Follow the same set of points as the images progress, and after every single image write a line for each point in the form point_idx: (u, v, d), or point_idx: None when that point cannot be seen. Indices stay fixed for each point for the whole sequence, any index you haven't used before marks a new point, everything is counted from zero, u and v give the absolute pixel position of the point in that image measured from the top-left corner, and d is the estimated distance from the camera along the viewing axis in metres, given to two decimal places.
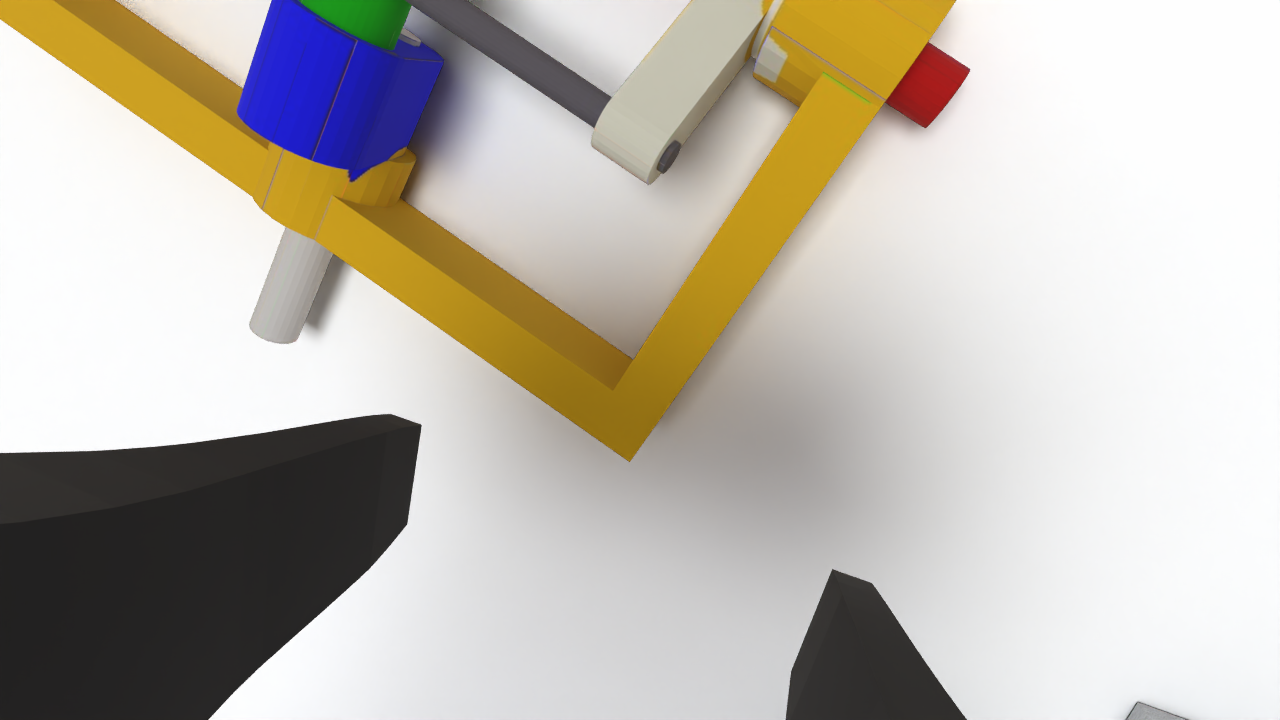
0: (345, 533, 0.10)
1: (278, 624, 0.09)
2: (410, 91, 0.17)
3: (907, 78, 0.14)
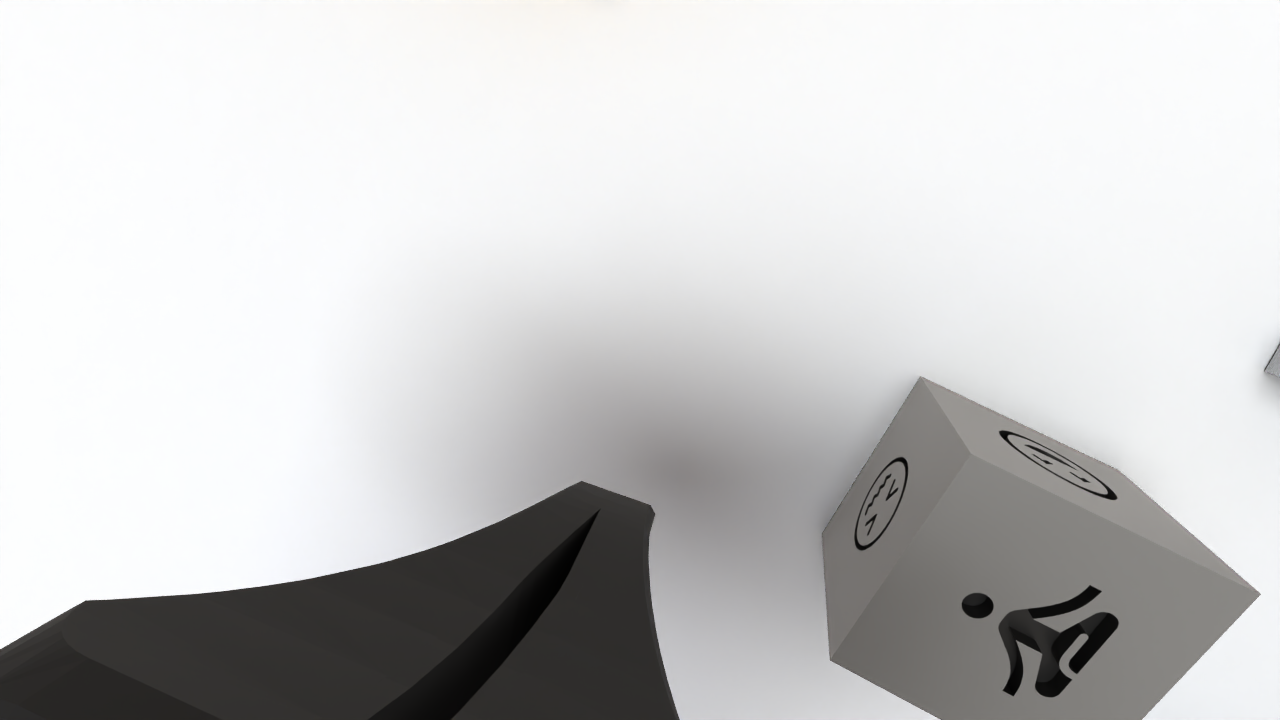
0: None
1: None
2: None
3: None
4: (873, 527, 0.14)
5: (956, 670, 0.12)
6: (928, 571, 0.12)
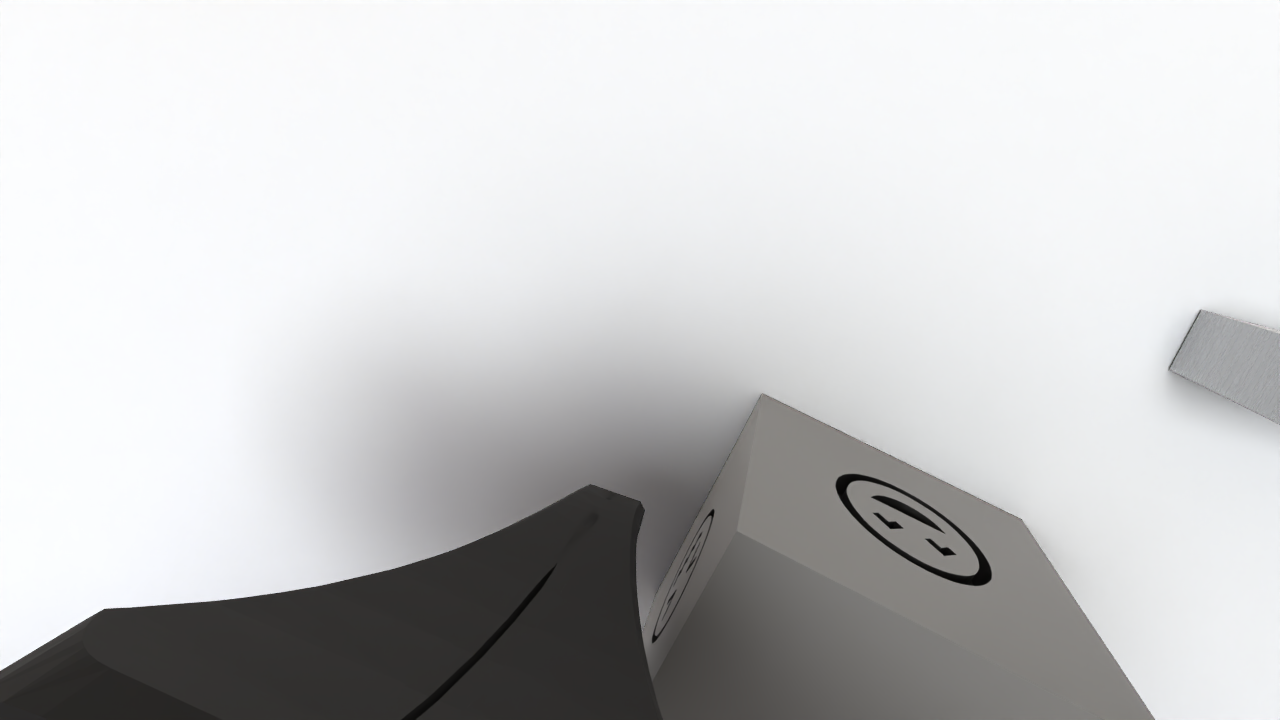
0: None
1: None
2: None
3: None
4: (667, 610, 0.10)
5: None
6: (695, 699, 0.08)
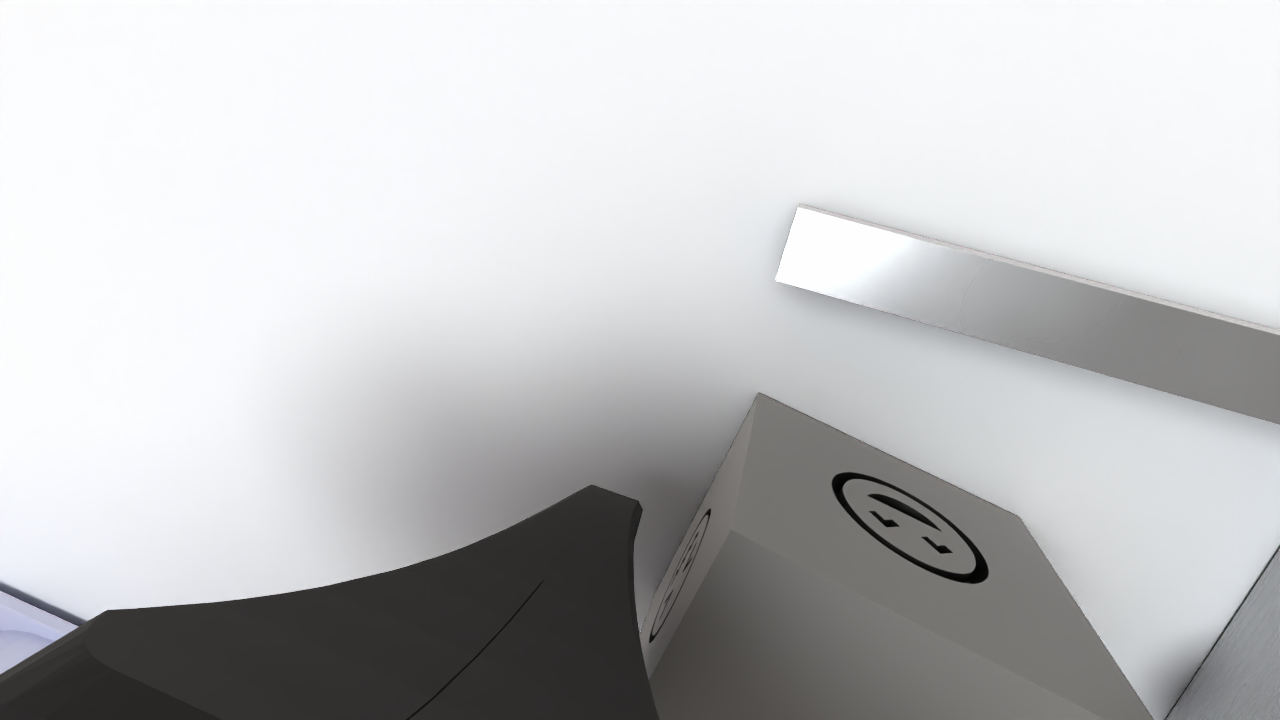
0: None
1: None
2: None
3: None
4: (664, 610, 0.10)
5: None
6: (690, 698, 0.08)
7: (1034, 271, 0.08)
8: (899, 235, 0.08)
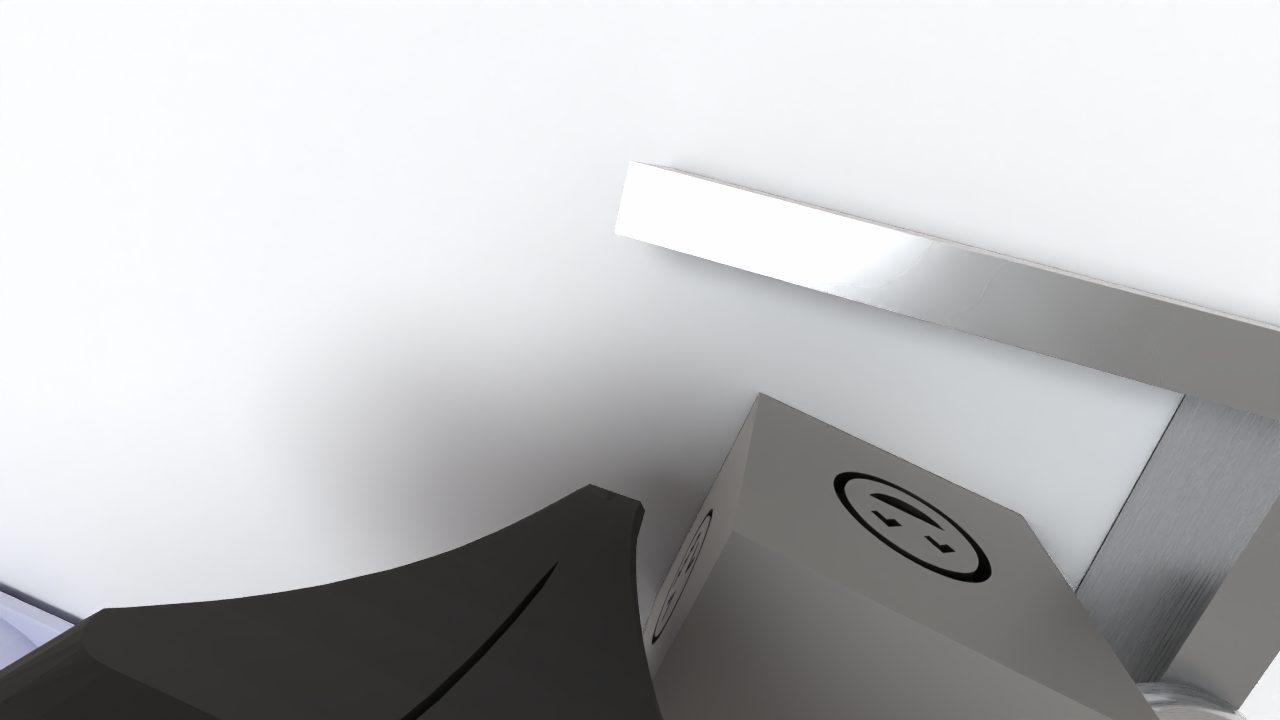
0: None
1: None
2: None
3: None
4: (667, 611, 0.10)
5: None
6: (694, 699, 0.08)
7: (847, 219, 0.08)
8: (724, 186, 0.09)
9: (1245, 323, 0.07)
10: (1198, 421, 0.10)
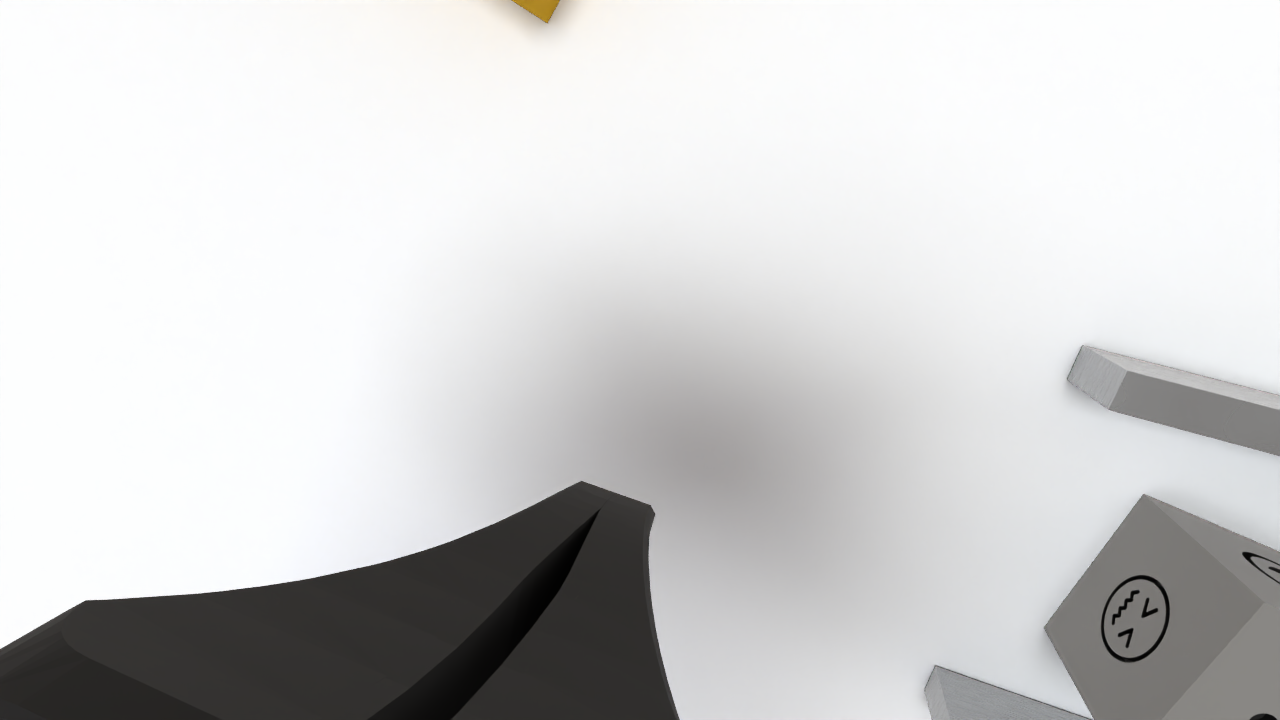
0: None
1: None
2: None
3: None
4: (1133, 641, 0.16)
5: None
6: (1219, 695, 0.14)
7: (1272, 408, 0.14)
8: (1189, 386, 0.14)
9: None
10: None
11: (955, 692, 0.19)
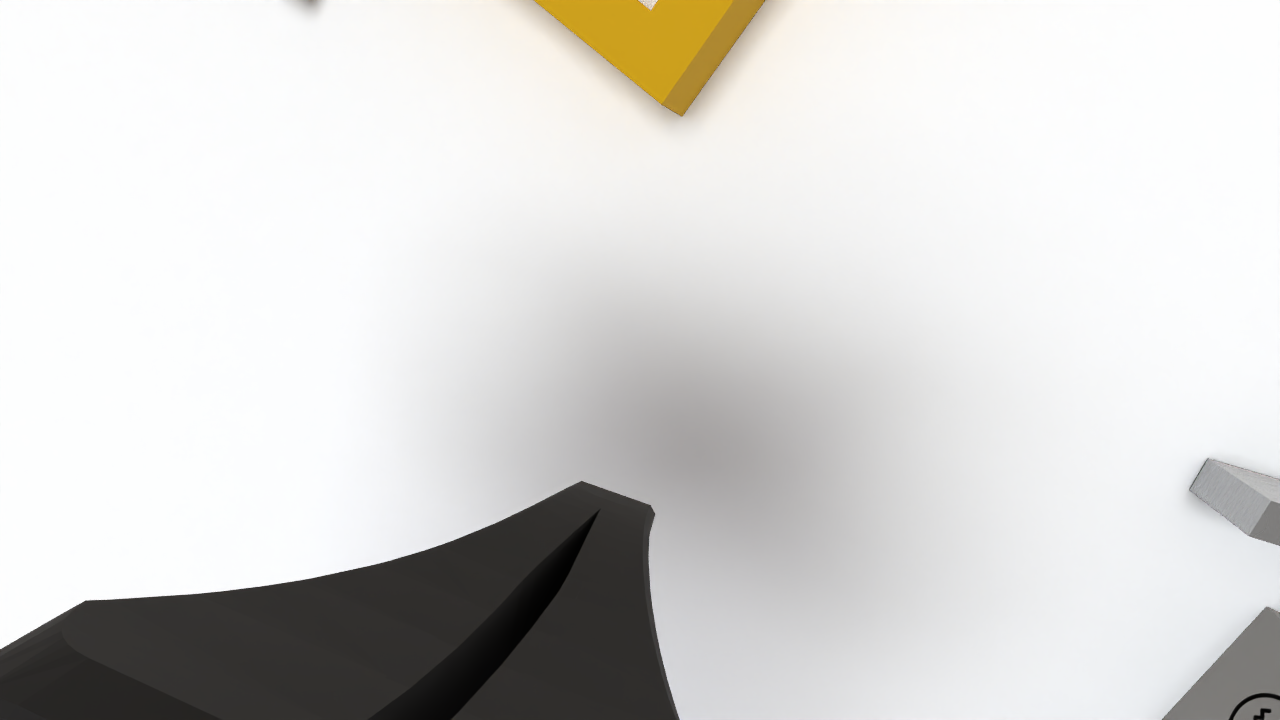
0: None
1: None
2: None
3: None
4: None
5: None
6: None
7: None
8: None
9: None
10: None
11: None
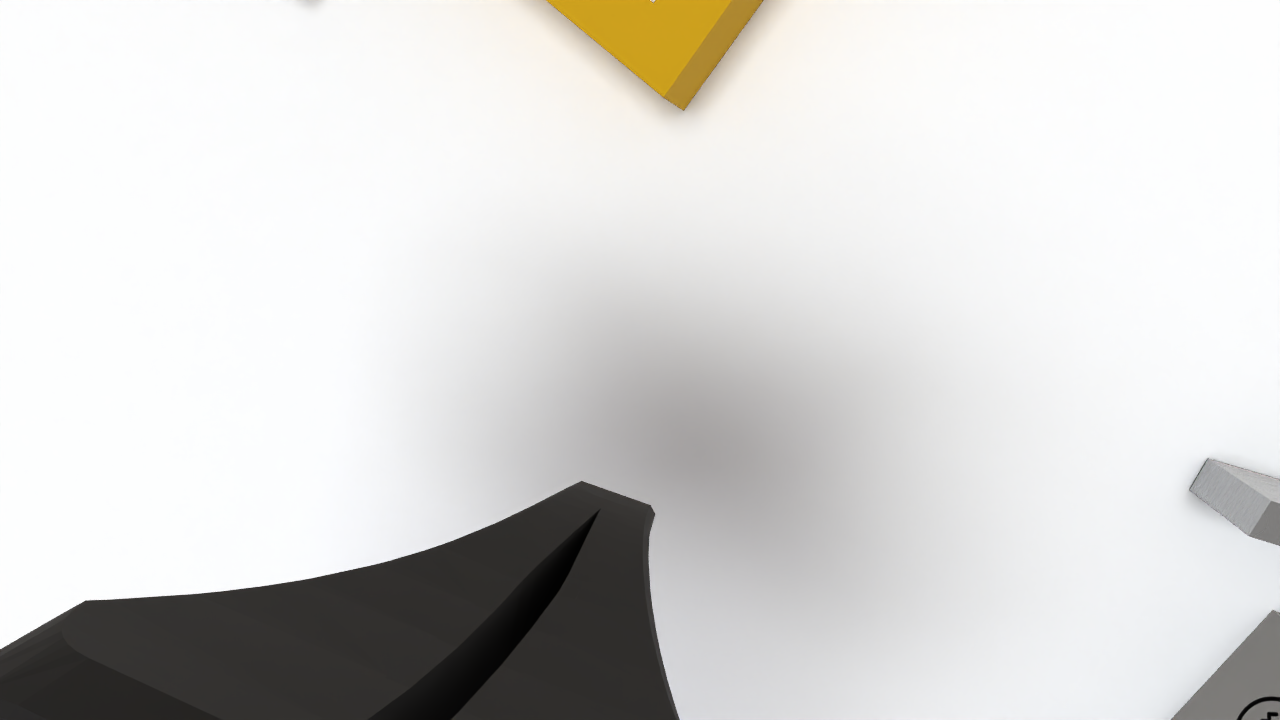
0: None
1: None
2: None
3: None
4: None
5: None
6: None
7: None
8: None
9: None
10: None
11: None
